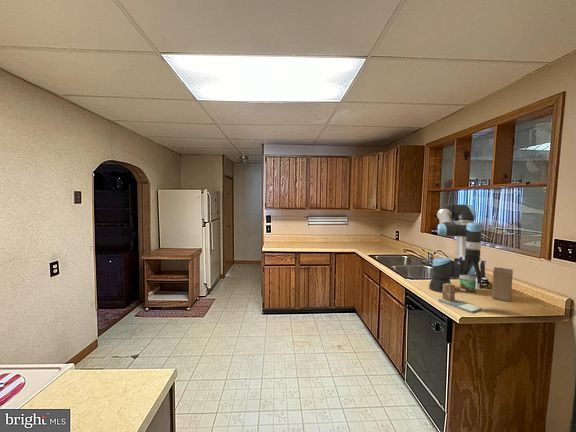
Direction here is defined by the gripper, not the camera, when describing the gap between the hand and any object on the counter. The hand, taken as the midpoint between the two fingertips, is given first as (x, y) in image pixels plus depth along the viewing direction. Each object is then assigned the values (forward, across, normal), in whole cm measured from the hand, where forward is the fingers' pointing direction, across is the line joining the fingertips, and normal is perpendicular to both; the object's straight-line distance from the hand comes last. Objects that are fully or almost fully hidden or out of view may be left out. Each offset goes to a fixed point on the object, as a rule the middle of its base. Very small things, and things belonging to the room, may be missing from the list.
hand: (470, 286), depth 167 cm
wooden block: (+14, -2, +40) cm, 42 cm away
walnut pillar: (+12, -14, 0) cm, 18 cm away
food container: (+3, 0, 0) cm, 3 cm away
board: (+14, -7, 0) cm, 15 cm away
